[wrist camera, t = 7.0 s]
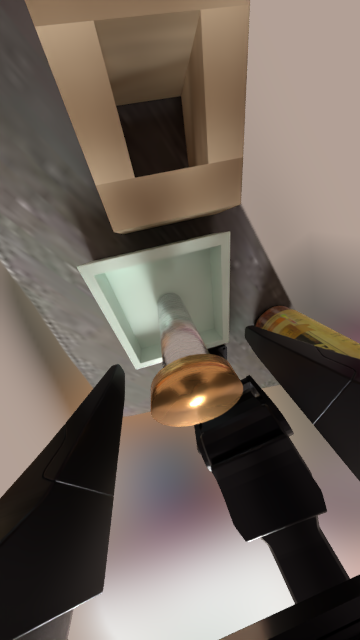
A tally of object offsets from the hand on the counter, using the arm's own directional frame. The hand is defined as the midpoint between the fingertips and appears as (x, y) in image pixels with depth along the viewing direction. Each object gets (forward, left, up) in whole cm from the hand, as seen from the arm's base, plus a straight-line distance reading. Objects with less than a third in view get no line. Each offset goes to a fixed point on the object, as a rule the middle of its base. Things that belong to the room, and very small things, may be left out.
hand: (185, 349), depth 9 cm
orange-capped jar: (0, 0, -8) cm, 8 cm away
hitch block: (+12, -2, -8) cm, 15 cm away
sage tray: (0, 0, -8) cm, 8 cm away
